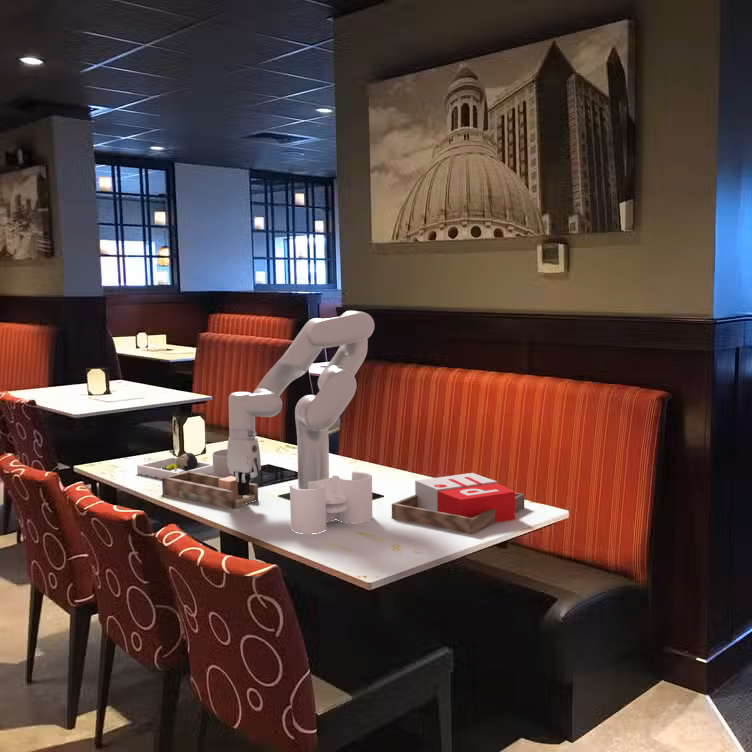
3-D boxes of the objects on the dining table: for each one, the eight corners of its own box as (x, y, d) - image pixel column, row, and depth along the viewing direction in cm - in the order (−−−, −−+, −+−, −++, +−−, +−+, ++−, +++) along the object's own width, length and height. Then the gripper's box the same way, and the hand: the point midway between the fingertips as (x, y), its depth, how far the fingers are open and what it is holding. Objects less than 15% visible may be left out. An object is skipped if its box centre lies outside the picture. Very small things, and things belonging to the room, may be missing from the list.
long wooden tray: (258, 500, 250) (257, 484, 249) (231, 508, 241) (231, 492, 240) (189, 485, 268) (188, 470, 267) (162, 493, 259) (161, 477, 259)
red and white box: (520, 489, 227) (459, 498, 218) (519, 519, 228) (459, 529, 219) (472, 472, 248) (414, 480, 239) (472, 500, 249) (415, 508, 240)
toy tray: (215, 473, 285) (215, 464, 285) (179, 482, 272) (179, 473, 272) (173, 464, 298) (173, 456, 298) (137, 473, 285) (137, 465, 285)
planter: (258, 485, 268) (258, 454, 266) (220, 490, 262) (219, 458, 260) (245, 477, 279) (244, 447, 277) (208, 482, 273) (207, 451, 271)
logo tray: (524, 507, 239) (524, 494, 239) (473, 534, 215) (473, 519, 215) (447, 494, 254) (447, 481, 254) (391, 517, 230) (391, 503, 230)
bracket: (307, 538, 214) (306, 492, 213) (286, 529, 221) (285, 485, 220) (380, 518, 230) (379, 476, 229) (357, 511, 237) (357, 470, 236)
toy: (149, 466, 284) (188, 447, 292) (155, 482, 286) (194, 464, 294) (158, 471, 277) (198, 452, 284) (165, 488, 279) (204, 468, 286)
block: (242, 494, 249) (242, 478, 249) (230, 498, 245) (230, 481, 245) (231, 492, 252) (230, 476, 252) (219, 495, 248) (218, 479, 248)
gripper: (269, 434, 242) (270, 495, 244) (233, 429, 250) (235, 488, 252) (251, 438, 236) (253, 501, 238) (215, 433, 244) (216, 493, 246)
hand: (243, 494), depth 245 cm, fingers closed
